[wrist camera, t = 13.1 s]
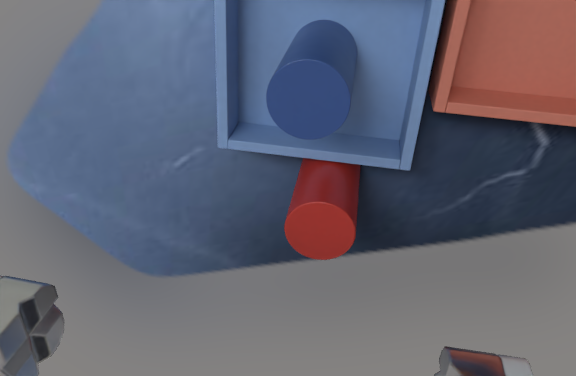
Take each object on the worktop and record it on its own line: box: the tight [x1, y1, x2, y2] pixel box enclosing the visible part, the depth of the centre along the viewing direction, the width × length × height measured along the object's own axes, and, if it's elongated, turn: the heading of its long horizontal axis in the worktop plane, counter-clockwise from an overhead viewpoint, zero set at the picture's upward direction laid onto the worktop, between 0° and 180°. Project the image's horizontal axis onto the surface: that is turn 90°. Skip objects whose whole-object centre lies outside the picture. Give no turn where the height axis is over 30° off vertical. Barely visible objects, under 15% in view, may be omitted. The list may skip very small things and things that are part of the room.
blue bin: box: [214, 0, 446, 171], centre depth 26 cm, size 11×10×3 cm
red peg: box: [284, 158, 360, 260], centre depth 28 cm, size 4×4×7 cm
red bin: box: [428, 0, 576, 127], centre depth 23 cm, size 11×10×3 cm
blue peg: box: [266, 20, 357, 140], centre depth 24 cm, size 4×4×7 cm
